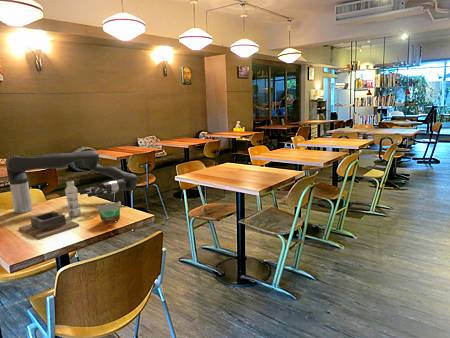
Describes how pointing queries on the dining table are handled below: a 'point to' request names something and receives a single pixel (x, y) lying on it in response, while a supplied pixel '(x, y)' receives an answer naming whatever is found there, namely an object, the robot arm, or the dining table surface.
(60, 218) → the bottle holder
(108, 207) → the food container
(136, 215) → the dining table surface
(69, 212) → the plastic bottle
